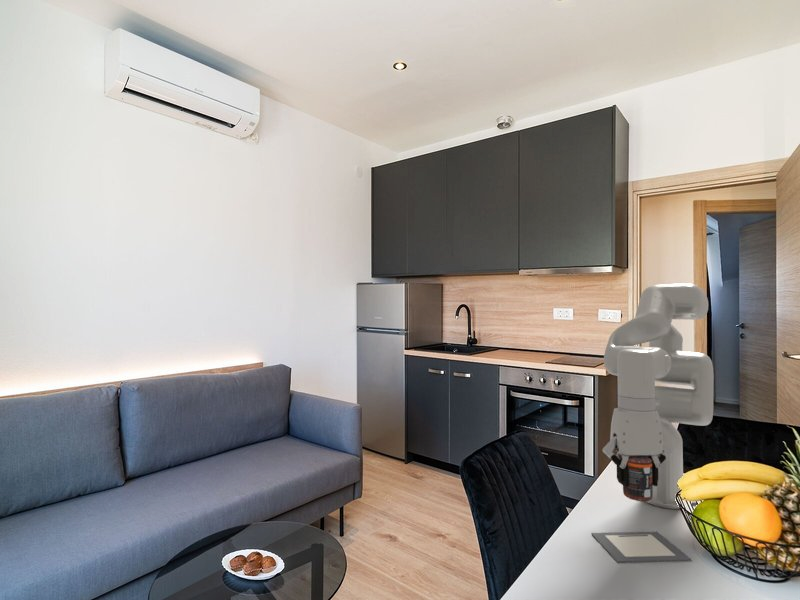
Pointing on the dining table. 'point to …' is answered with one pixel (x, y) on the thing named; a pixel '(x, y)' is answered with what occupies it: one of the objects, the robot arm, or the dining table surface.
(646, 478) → the supplement bottle
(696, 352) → the robot arm
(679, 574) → the dining table surface
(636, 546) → the mat
